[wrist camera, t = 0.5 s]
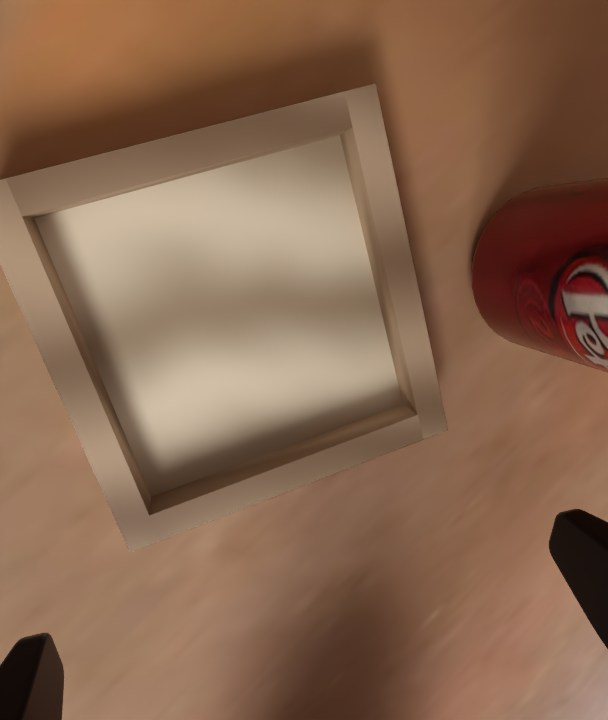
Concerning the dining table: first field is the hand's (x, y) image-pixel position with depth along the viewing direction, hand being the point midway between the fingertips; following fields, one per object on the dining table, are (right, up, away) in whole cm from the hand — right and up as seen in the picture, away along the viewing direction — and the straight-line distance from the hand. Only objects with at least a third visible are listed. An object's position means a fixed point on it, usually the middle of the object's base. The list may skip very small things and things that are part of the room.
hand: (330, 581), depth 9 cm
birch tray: (-3, +6, +13) cm, 14 cm away
